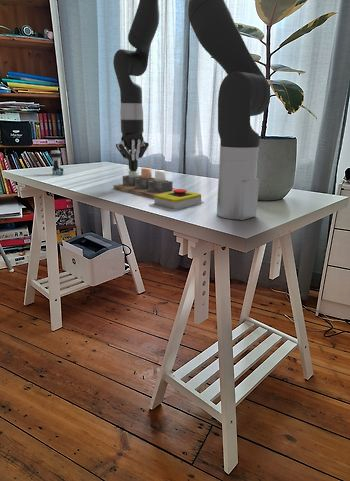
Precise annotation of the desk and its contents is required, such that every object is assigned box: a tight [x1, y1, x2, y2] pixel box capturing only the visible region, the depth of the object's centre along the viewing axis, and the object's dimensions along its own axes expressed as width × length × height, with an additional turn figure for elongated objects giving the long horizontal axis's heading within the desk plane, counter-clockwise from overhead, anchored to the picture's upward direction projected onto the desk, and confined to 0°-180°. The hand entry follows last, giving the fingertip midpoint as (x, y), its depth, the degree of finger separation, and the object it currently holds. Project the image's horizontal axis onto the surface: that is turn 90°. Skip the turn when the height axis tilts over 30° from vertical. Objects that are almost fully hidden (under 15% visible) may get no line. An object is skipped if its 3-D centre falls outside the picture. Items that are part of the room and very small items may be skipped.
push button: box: [48, 150, 64, 176], centre depth 145 cm, size 7×5×10 cm
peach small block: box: [140, 167, 153, 180], centre depth 114 cm, size 3×3×4 cm
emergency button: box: [148, 188, 205, 212], centre depth 98 cm, size 9×4×15 cm
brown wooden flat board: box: [113, 174, 176, 200], centre depth 115 cm, size 22×12×4 cm, turn 44°
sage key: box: [128, 170, 140, 177], centre depth 119 cm, size 3×3×4 cm
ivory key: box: [154, 169, 167, 183], centre depth 109 cm, size 3×3×4 cm
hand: (133, 170), depth 119 cm, fingers closed
